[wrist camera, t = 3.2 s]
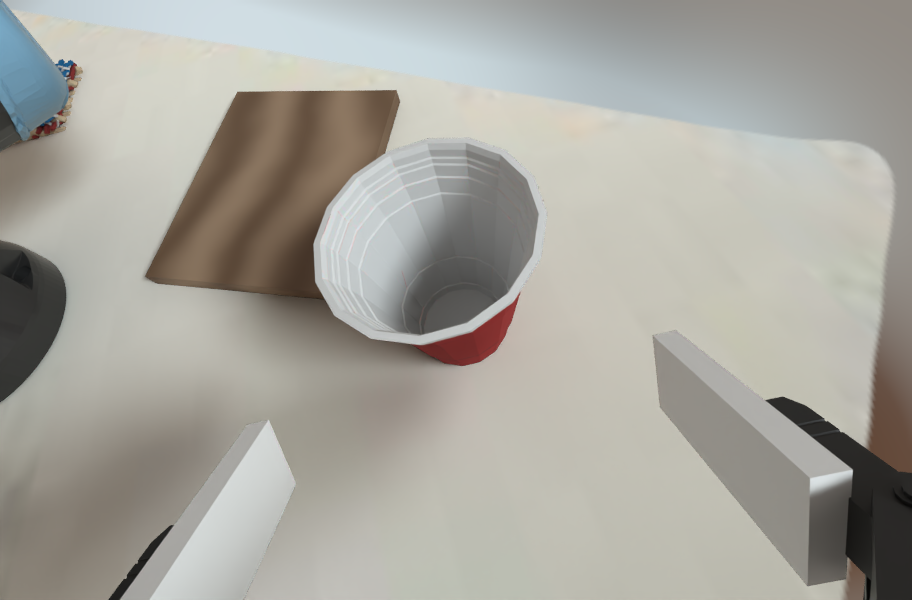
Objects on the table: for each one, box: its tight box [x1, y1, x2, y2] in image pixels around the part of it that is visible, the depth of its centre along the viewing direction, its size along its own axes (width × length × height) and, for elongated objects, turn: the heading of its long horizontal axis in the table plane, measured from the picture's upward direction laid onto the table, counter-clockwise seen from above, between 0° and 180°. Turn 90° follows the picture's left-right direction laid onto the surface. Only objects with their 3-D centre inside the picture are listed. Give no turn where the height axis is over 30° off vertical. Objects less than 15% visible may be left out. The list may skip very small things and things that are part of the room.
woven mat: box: [15, 59, 83, 143], centre depth 48 cm, size 10×11×2 cm
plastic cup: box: [313, 138, 547, 366], centre depth 25 cm, size 11×11×12 cm
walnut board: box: [145, 90, 400, 299], centre depth 38 cm, size 16×20×1 cm
